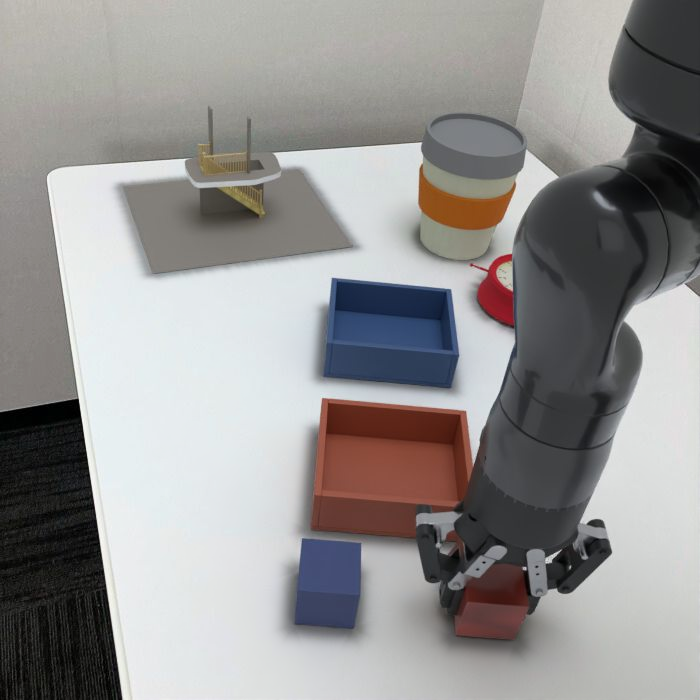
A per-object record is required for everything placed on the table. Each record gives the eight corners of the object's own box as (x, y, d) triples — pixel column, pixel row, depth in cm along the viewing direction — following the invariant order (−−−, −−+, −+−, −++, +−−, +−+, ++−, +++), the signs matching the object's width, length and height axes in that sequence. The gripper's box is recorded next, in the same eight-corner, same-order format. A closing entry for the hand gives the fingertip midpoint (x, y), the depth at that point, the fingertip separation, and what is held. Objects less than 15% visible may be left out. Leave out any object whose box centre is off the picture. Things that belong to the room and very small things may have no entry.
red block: (507, 587, 62) (520, 554, 59) (515, 640, 58) (529, 607, 55) (451, 583, 61) (462, 549, 58) (455, 635, 58) (467, 602, 55)
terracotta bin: (457, 444, 73) (466, 410, 70) (467, 542, 65) (478, 508, 62) (318, 431, 73) (322, 397, 70) (310, 529, 64) (314, 494, 61)
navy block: (355, 576, 61) (361, 542, 58) (354, 628, 58) (360, 595, 55) (298, 572, 61) (301, 537, 58) (293, 624, 58) (297, 590, 55)
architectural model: (352, 246, 98) (364, 142, 89) (153, 273, 89) (143, 161, 80) (299, 169, 112) (304, 72, 103) (122, 186, 104) (112, 82, 95)
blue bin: (444, 320, 88) (451, 288, 85) (451, 388, 79) (459, 354, 76) (328, 309, 87) (331, 277, 84) (323, 376, 79) (326, 342, 76)
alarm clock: (522, 240, 96) (621, 280, 85) (518, 286, 99) (613, 330, 88) (458, 260, 91) (554, 306, 80) (456, 308, 94) (548, 358, 83)
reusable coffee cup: (401, 258, 97) (419, 147, 87) (411, 209, 106) (428, 104, 97) (501, 275, 96) (530, 165, 86) (501, 224, 106) (528, 120, 96)
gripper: (428, 495, 45) (391, 646, 56) (667, 515, 46) (585, 661, 57) (423, 406, 51) (390, 558, 62) (635, 425, 52) (566, 572, 63)
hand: (484, 606), depth 59 cm, fingers closed on red block, 4 cm apart
